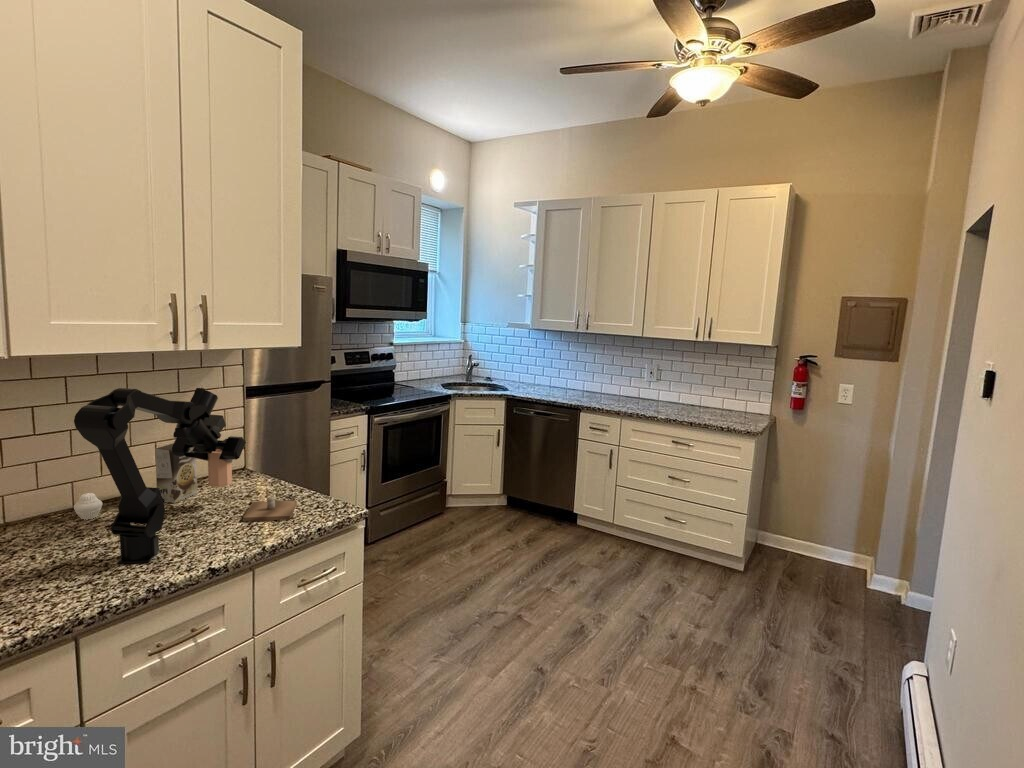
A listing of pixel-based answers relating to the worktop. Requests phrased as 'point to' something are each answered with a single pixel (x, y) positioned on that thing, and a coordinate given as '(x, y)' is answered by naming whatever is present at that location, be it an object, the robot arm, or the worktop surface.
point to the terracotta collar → (218, 470)
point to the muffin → (88, 506)
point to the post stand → (270, 510)
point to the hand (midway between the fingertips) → (221, 460)
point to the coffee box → (175, 475)
